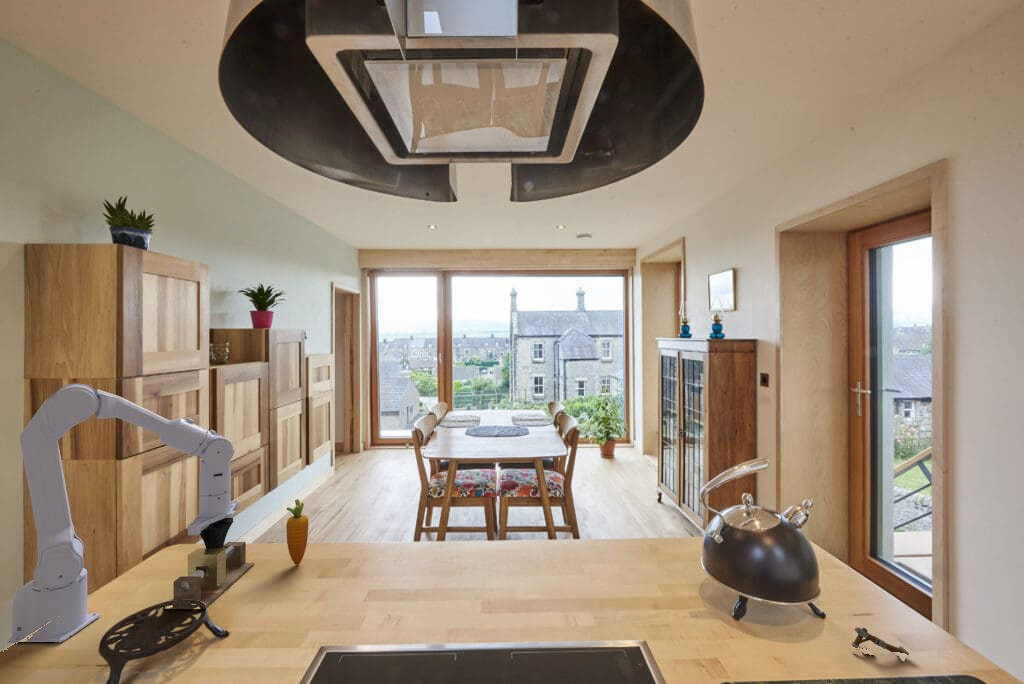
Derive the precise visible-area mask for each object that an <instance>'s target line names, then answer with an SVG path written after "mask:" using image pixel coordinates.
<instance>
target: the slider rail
mask: <svg viewBox="0 0 1024 684" xmlns="http://www.w3.org/2000/svg"><path fill="white" fill-rule="evenodd" d="M246 543H247V542H246V541H227V542H226V543H224V546H223V548H226V549H227V548H228V547H229V546H235V547H236V553H235V554H233V555H232V556H231V557H230V558H228V559H227V560H226V580H225V581H224V582H222V583H221V584H220V585H219V586H218V587H201V576H188V575H187V576H179V577H178V578H177V579H175V580H174V581H173V598H172V600H173V601H175V600H183V599H193V600H199V601H202V602H204V603H205V604H206V607H207V608H209V606H210V605H212V604H213V603H214V602H215V601H216V600H218V599H219V597H221V596H222V595H223V594H224V593H225V592H226V591H227V590H228V589H230V587H232V586H233V585H234V584H235V583H236V582H237V581H238V580H240V579H241V578H242V577H243V576H244V575H245V574H246V573H248V572H249V571H250V570H251V569H252V568H254V566H255V562H247V561H246V560H247V559H246V555H247V554H246V553H247V552H246V551H247V550H246V547H247V546H246ZM248 570H249V571H248ZM181 582H183V583H184V582H186V586H187V583H188V584H189V586H188V587H189V589H188V587H187V589H188V591H186V588H185V587H184V591H185V592H182V591H183V590H182V589H183V588H180V587H181V584H180V583H181ZM179 585H180V587H179ZM184 585H185V583H184ZM182 586H183V585H182ZM179 588H180V589H181V591H180V589H179ZM172 600H170V601H172Z"/></svg>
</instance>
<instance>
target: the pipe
mask: <svg viewBox="0 0 1024 684" xmlns="http://www.w3.org/2000/svg"><path fill="white" fill-rule="evenodd" d="M235 553H236V547H235V546H229V547H228V548H227V549H226V560H227V559H228V558H230V557H231V556H232V555H233V554H235ZM208 574H209V566H203V567H201V568H199V569H198V570H196V571H195V572H194V573H193V574H192V575H190V576H201V580H202V579H204V578H205V577H206V576H207V575H208ZM184 583H185V585H184ZM184 583H183V582H181V583H180V584H181V587H180V585H179V587H180V588H183V589H182V590H183V591H182V592H185V591H184V587H185V588H186V591H188V589H189V587H188V586H189V584H188V583H187V586H186V582H184ZM182 585H183V586H182ZM187 587H188V589H187ZM180 588H179V589H180ZM180 591H181V589H180Z"/></svg>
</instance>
